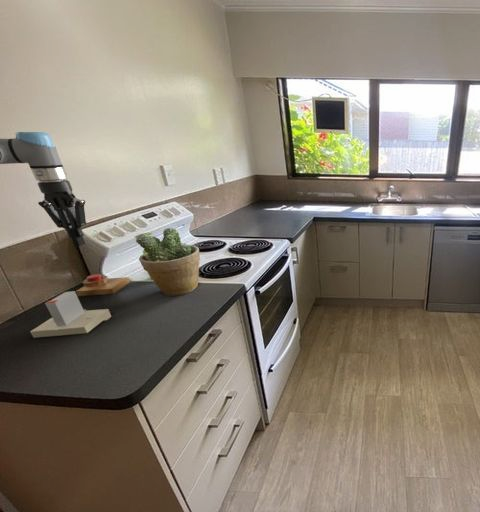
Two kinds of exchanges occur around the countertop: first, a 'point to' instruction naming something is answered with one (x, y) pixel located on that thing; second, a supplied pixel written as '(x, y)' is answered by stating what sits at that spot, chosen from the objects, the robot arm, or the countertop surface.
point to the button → (94, 277)
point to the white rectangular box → (65, 308)
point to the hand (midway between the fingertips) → (80, 245)
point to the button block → (102, 286)
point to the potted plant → (170, 262)
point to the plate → (72, 324)
